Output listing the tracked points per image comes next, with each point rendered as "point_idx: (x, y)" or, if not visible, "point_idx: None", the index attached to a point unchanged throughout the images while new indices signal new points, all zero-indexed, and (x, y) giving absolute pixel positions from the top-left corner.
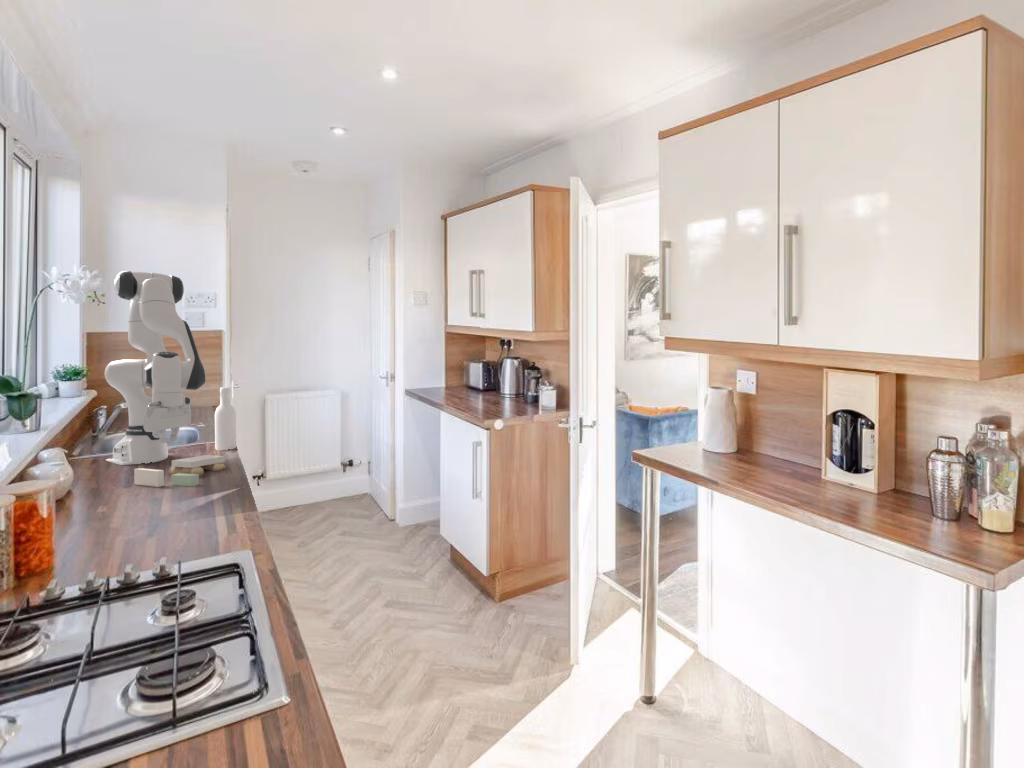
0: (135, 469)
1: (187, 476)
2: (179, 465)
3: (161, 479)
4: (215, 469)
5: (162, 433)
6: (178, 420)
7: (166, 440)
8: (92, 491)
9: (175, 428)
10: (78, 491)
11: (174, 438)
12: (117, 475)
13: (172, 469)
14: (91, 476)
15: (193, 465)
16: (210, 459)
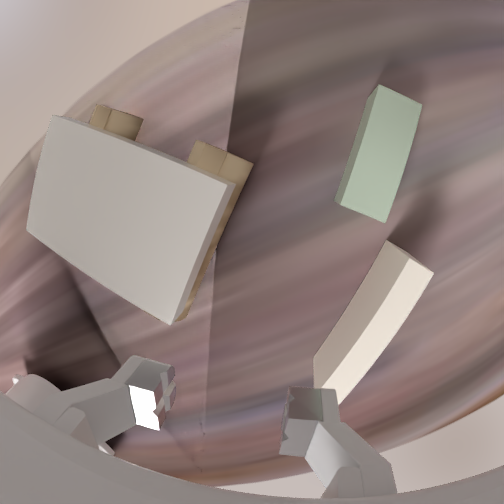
0: (342, 399)
1: (416, 126)
2: (198, 266)
3: (404, 252)
4: (137, 121)
5: (388, 466)
6: (5, 486)
7: (305, 398)
8: (420, 412)
9: (79, 438)
10: (405, 438)
11: (160, 375)
12: (169, 445)
13: (186, 302)
14: (188, 478)
15: (217, 176)
16: (112, 135)
